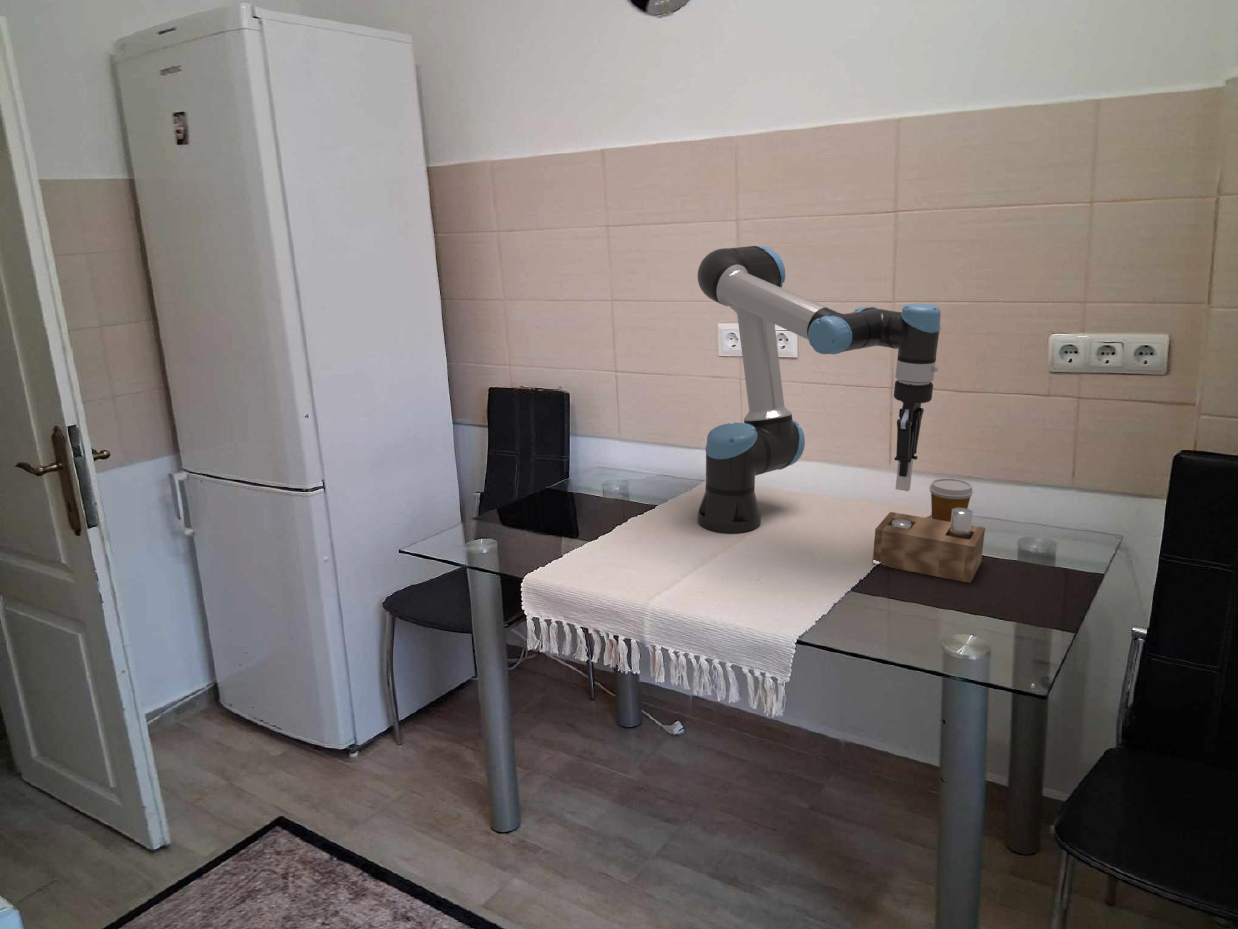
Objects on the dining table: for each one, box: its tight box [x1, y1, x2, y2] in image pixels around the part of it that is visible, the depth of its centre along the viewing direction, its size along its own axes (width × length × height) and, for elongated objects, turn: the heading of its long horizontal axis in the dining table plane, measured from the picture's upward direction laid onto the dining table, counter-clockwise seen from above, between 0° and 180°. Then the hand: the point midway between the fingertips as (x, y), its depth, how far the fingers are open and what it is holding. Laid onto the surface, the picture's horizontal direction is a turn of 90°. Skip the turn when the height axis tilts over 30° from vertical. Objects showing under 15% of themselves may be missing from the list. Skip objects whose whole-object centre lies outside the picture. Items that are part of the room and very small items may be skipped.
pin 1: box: [892, 519, 911, 529], centre depth 197 cm, size 4×4×7 cm
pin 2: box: [949, 508, 973, 539], centre depth 189 cm, size 4×4×7 cm
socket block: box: [872, 511, 986, 584], centre depth 194 cm, size 20×12×8 cm, turn 59°
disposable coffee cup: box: [928, 477, 974, 522], centre depth 210 cm, size 10×10×12 cm
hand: (902, 489), depth 194 cm, fingers closed
